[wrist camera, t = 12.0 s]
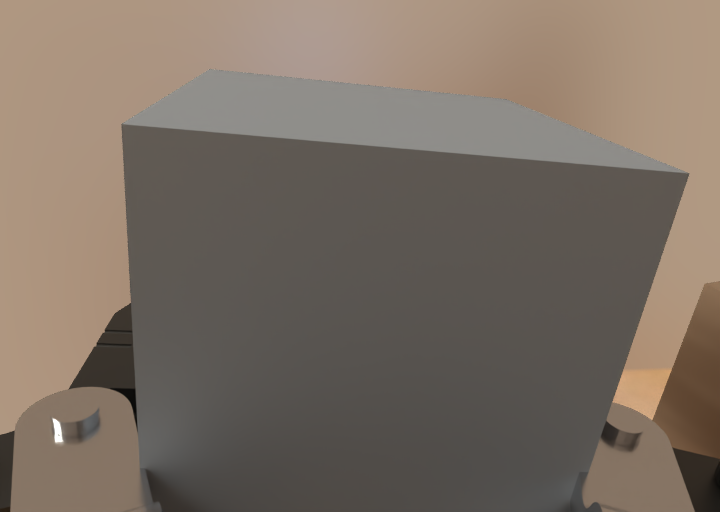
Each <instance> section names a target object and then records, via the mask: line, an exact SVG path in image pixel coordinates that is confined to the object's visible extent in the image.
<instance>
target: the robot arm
mask: <svg viewBox="0 0 720 512" xmlns="http://www.w3.org/2000/svg"><path fill="white" fill-rule="evenodd" d="M570 509H571V512H720V459H718V458H714V457H710V456H706V455H701V454H697V453H693V452H689V451H685V450H680V449H676V448H673V447H672V446H671V443H670V441H669V439H668V437H667V435H666V434H665V432H664V431H663V430H662V429H661V428H660V427H659V426H658V425H657V424H656V423H655V422H653V421H652V420H651V419H649V418H648V417H646V416H645V415H643V414H641V413H639V412H637V411H635V410H633V409H631V408H629V407H626V406H623V405H620V404H616V403H612V404H611V407H610V410H609V413H608V416H607V419H606V422H605V425H604V428H603V431H602V434H601V437H600V440H599V443H598V446H597V449H596V452H595V455H594V458H593V461H592V464H591V467H590V470H589V472H579V475H578V478H577V481H576V484H575V487H574V490H573V493H572V496H571V499H570ZM0 512H162V508H161V506H160V503H159V502H158V501H157V502H154V503H153V501H152V496H151V492H150V487H149V483H148V478H147V473H146V469H145V468H140V463H139V444H138V425H137V406H136V388H135V369H134V350H133V331H132V312H131V303H130V304H129V305H127V306H126V307H124V308H122V309H121V310H119V311H118V312H116V313H115V314H114V316H113V317H112V319H111V321H110V322H109V324H108V325H107V327H106V329H105V333H103V334H102V335H101V337H100V338H99V340H98V342H97V346H96V347H94V348H93V350H92V352H91V353H90V355H89V357H88V358H87V360H86V362H85V363H84V365H83V366H82V368H81V370H80V371H79V373H78V375H77V376H76V378H75V379H74V381H73V383H72V384H71V386H70V388H69V389H68V390H64V391H60V392H57V393H54V394H52V395H49V396H47V397H45V398H43V399H41V400H39V401H38V402H36V403H35V404H33V405H32V406H30V407H29V408H28V409H27V410H26V411H25V412H24V413H23V414H22V415H21V417H20V418H19V420H18V422H17V424H16V427H15V431H12V432H9V433H6V434H2V435H0Z"/></svg>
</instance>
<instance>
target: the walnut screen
mask: <svg viewBox="0 0 720 512" xmlns="http://www.w3.org/2000/svg"><path fill="white" fill-rule="evenodd" d="M652 421H653V422H655V423H656V424H657V425H658V426H659V427H660V428H661V429H662V430H663V431H664V432H665V434H666V435H667V437H668V439H669V441H670V443H671V446H672V447H673V448H676V449H680V450H685V451H689V452H693V453H697V454H701V455H706V456H710V457H714V458H718V459H720V281H719V282H713V283H707V284H705V285H704V287H703V290H702V292H701V295H700V298H699V300H698V303H697V306H696V308H695V311H694V313H693V316H692V319H691V321H690V324H689V326H688V329H687V332H686V334H685V337H684V339H683V342H682V345H681V347H680V350H679V353H678V355H677V358H676V360H675V363H674V366H673V368H672V371H671V373H670V376H669V379H668V381H667V384H666V386H665V389H664V392H663V394H662V397H661V400H660V402H659V405H658V407H657V410H656V413H655V415H654V418H653V420H652Z"/></svg>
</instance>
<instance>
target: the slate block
mask: <svg viewBox="0 0 720 512" xmlns="http://www.w3.org/2000/svg"><path fill="white" fill-rule="evenodd" d="M122 142H123V160H124V179H125V198H126V216H127V217H126V218H127V236H128V255H129V274H130V293H131V312H132V331H133V350H134V369H135V388H136V406H137V425H138V444H139V463H140V468H145V469H146V473H147V478H148V483H149V487H150V492H151V496H152V501H153V503H154V502H157V501H158V502H159V503H160V506H161V508H162V512H571V509H570V499H571V496H572V493H573V490H574V487H575V484H576V481H577V478H578V475H579V472H589V470H590V467H591V464H592V461H593V458H594V455H595V452H596V449H597V446H598V443H599V440H600V437H601V434H602V431H603V428H604V425H605V422H606V419H607V416H608V413H609V410H610V407H611V404H612V401H613V398H614V395H615V392H616V390H617V387H618V384H619V381H620V378H621V375H622V372H623V369H624V366H625V363H626V360H627V357H628V354H629V351H630V348H631V345H632V342H633V339H634V336H635V333H636V330H637V327H638V324H639V321H640V318H641V315H642V312H643V310H644V307H645V304H646V301H647V297H648V295H649V292H650V289H651V286H652V283H653V280H654V277H655V274H656V270H657V268H658V265H659V262H660V259H661V256H662V253H663V250H664V247H665V244H666V241H667V238H668V235H669V232H670V230H671V227H672V224H673V220H674V218H675V215H676V212H677V209H678V206H679V202H680V200H681V197H682V194H683V191H684V188H685V185H686V182H687V179H688V176H689V173H687V172H685V171H682V170H680V169H677V168H675V167H672V166H670V165H667V164H665V163H662V162H660V161H657V160H654V159H652V158H650V157H648V156H645V155H643V154H640V153H637V152H635V151H633V150H630V149H628V148H625V147H623V146H620V145H618V144H615V143H613V142H611V141H608V140H605V139H603V138H601V137H598V136H596V135H593V134H591V133H588V132H586V131H583V130H581V129H578V128H576V127H573V126H571V125H568V124H566V123H564V122H561V121H559V120H556V119H553V118H551V117H549V116H546V115H544V114H541V113H539V112H536V111H533V110H531V109H529V108H527V107H524V106H522V105H519V104H517V103H514V102H512V101H509V100H507V99H499V98H489V97H479V96H469V95H460V94H450V93H440V92H430V91H420V90H410V89H400V88H391V87H381V86H370V85H361V84H351V83H342V82H331V81H322V80H312V79H302V78H292V77H282V76H273V75H263V74H253V73H243V72H233V71H223V70H213V69H209V70H208V71H206V72H205V73H203V74H201V75H200V76H198V77H196V78H195V79H193V80H192V81H190V82H188V83H187V84H185V85H184V86H182V87H180V88H179V89H177V90H176V91H174V92H172V93H171V94H169V95H168V96H166V97H164V98H163V99H161V100H160V101H158V102H156V103H155V104H153V105H151V106H150V107H148V108H147V109H145V110H143V111H142V112H140V113H139V114H137V115H135V116H134V117H132V118H131V119H129V120H127V121H126V122H124V123H123V124H122Z"/></svg>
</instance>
